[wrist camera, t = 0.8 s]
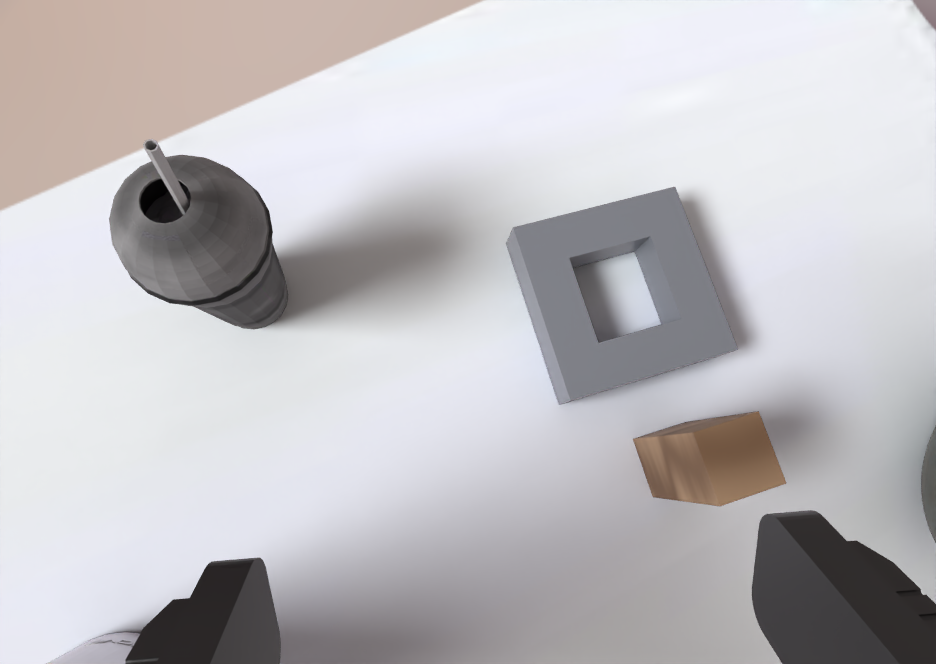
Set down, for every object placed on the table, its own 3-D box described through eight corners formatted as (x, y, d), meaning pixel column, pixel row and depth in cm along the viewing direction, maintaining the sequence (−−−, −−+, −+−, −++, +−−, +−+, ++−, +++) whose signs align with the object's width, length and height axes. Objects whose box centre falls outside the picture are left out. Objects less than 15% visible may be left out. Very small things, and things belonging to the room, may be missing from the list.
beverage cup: (198, 246, 41) (13, 54, 22) (307, 243, 42) (222, 54, 23) (196, 352, 40) (-6, 245, 20) (309, 346, 41) (220, 239, 21)
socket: (715, 357, 43) (737, 349, 40) (558, 404, 41) (570, 400, 39) (657, 204, 45) (675, 186, 42) (506, 243, 44) (513, 227, 41)
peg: (706, 479, 41) (786, 483, 33) (653, 497, 41) (720, 506, 32) (685, 422, 42) (758, 411, 33) (633, 439, 41) (693, 432, 33)
